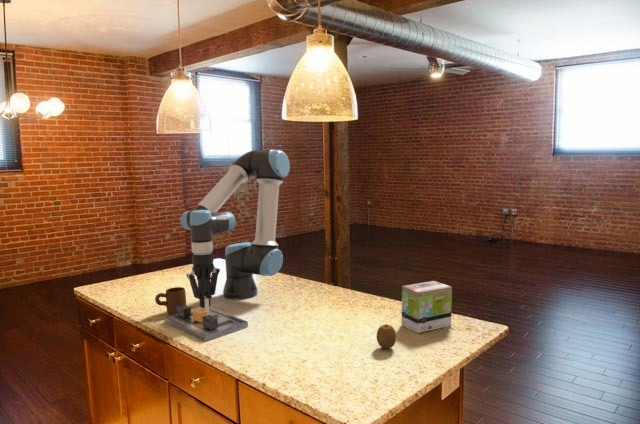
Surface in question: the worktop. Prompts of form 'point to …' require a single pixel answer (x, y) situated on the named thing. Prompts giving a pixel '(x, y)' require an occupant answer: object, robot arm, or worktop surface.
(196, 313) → the tall orange block
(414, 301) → the tea box
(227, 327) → the panel
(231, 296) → the robot arm
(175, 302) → the mug
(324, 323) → the worktop surface
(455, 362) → the worktop surface
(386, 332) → the fruit
